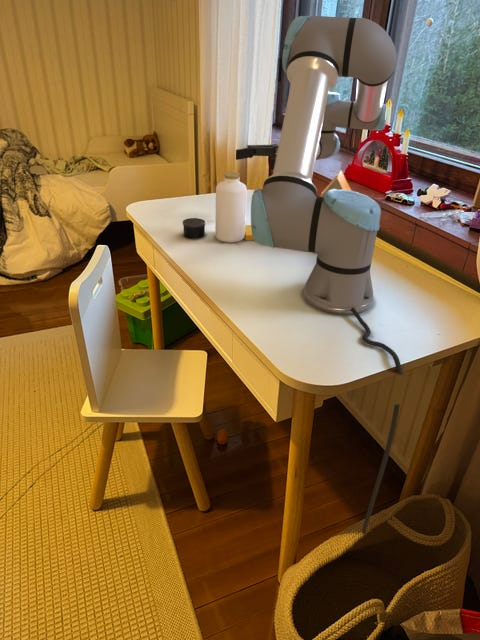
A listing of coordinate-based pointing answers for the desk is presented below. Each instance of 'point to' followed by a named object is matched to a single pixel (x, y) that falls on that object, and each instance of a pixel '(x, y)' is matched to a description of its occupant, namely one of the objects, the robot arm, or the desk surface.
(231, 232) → the potion bottle
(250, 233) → the mustard block
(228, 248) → the desk surface
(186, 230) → the dark tin
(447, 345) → the desk surface
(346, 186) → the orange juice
